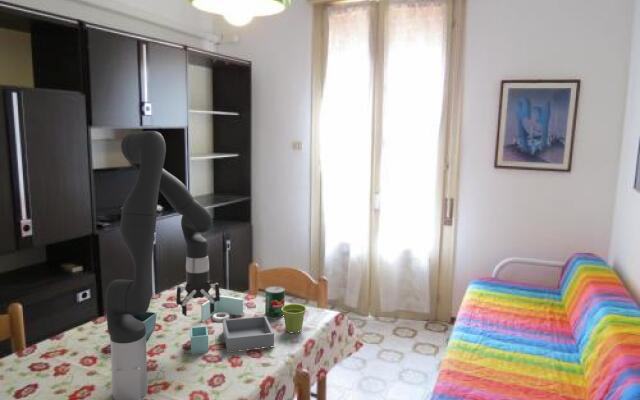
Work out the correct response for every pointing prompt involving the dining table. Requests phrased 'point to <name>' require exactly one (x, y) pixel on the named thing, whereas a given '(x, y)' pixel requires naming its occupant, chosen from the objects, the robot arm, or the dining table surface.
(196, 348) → the teal crate
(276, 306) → the canned tomato
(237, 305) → the right angle wall
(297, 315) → the plant pot
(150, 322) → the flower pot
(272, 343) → the grey open tray
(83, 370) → the dining table surface
